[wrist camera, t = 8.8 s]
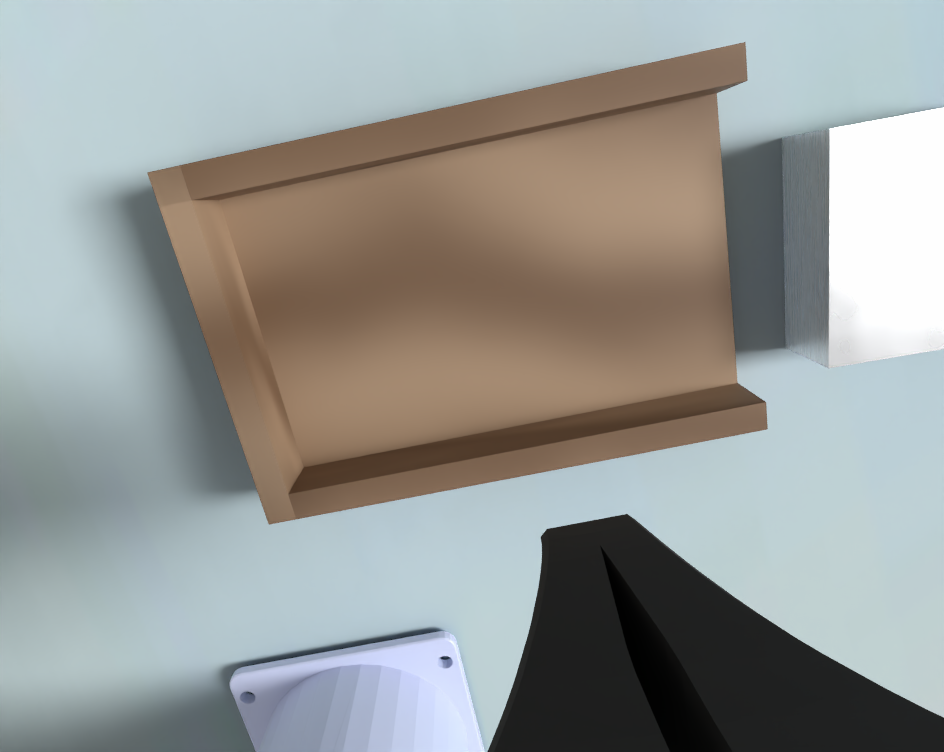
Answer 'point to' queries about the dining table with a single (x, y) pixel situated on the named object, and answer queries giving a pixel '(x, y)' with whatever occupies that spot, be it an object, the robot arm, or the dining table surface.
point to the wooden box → (471, 288)
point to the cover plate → (865, 239)
